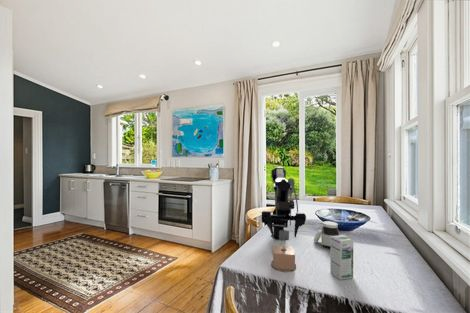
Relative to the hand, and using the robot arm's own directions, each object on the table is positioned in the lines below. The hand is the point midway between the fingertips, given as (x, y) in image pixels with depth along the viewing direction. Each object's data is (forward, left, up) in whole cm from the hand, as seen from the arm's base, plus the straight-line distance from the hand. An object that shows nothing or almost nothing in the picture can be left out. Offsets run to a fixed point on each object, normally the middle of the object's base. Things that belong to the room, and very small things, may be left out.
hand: (283, 236), depth 94 cm
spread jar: (-15, +31, -12) cm, 36 cm away
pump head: (+1, -1, -6) cm, 6 cm away
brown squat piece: (0, 0, -12) cm, 12 cm away
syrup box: (+12, +18, -12) cm, 25 cm away
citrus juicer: (-55, +34, -12) cm, 65 cm away
